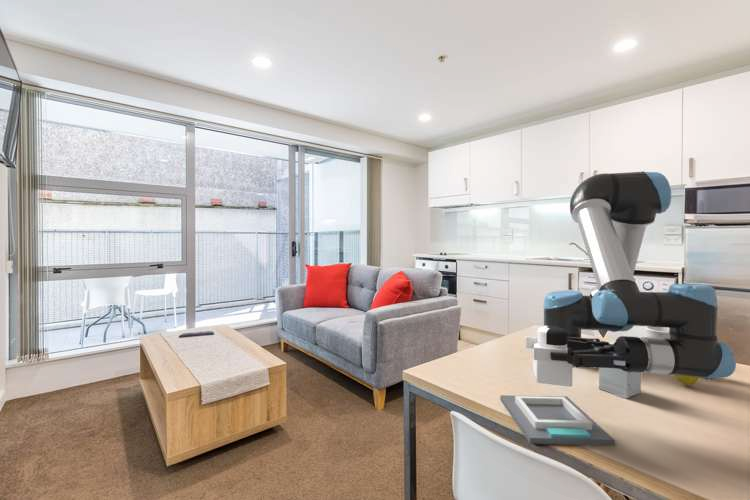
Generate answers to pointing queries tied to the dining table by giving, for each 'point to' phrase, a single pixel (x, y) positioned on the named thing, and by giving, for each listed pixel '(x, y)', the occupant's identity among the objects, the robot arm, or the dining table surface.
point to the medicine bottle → (550, 369)
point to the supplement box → (619, 381)
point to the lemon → (687, 379)
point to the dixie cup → (658, 332)
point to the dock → (554, 421)
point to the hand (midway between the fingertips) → (529, 347)
